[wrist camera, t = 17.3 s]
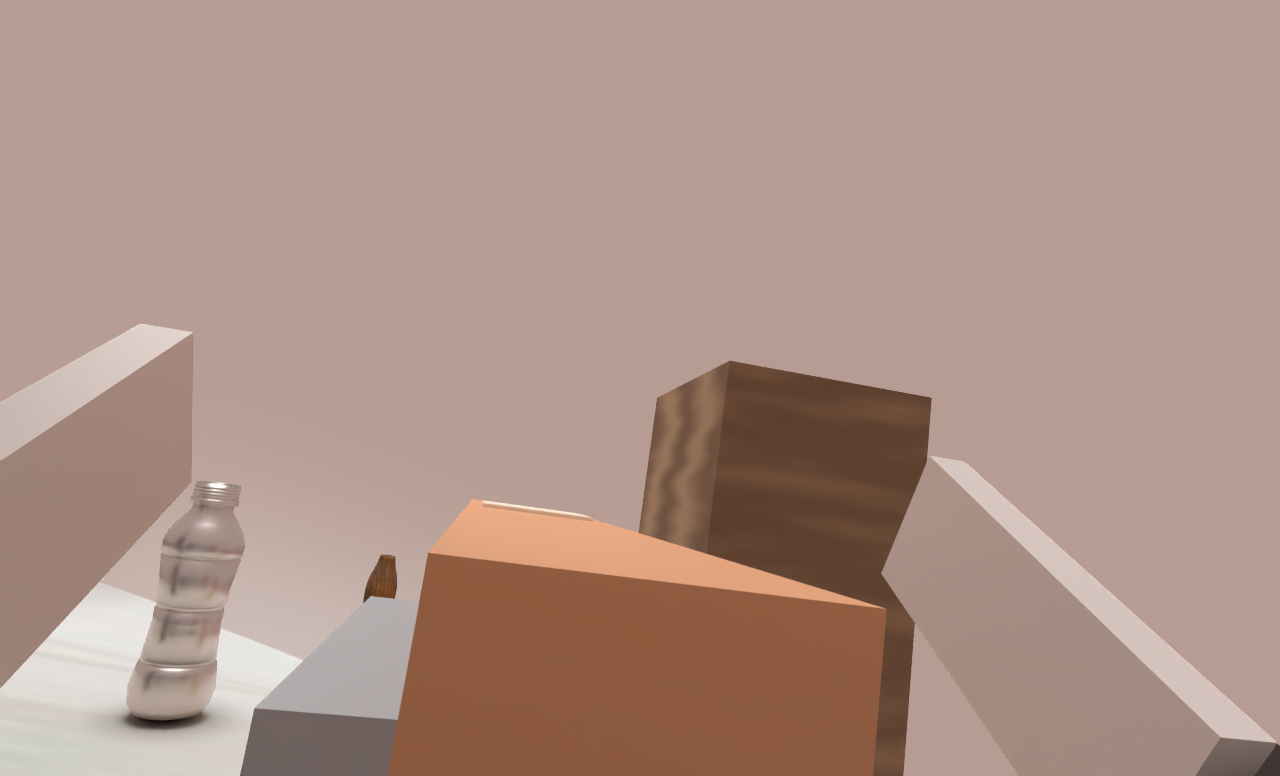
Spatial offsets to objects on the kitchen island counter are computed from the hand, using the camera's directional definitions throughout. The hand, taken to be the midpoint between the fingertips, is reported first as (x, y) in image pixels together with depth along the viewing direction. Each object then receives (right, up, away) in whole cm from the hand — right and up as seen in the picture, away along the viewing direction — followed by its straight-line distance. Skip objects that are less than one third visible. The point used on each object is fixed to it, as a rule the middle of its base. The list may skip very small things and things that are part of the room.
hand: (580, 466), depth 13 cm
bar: (-2, -6, +4) cm, 7 cm away
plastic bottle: (-40, -27, +49) cm, 68 cm away
